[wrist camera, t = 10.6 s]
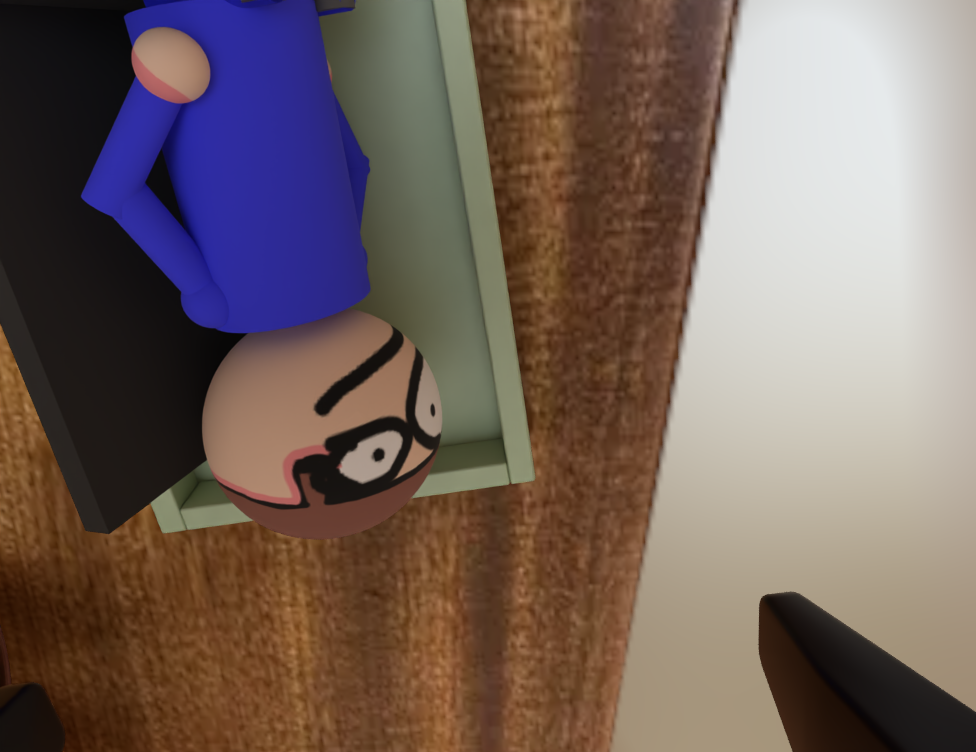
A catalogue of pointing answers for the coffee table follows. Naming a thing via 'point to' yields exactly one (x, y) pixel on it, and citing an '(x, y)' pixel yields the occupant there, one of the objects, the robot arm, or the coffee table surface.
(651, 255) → the coffee table surface
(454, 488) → the tray
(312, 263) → the character figurine
